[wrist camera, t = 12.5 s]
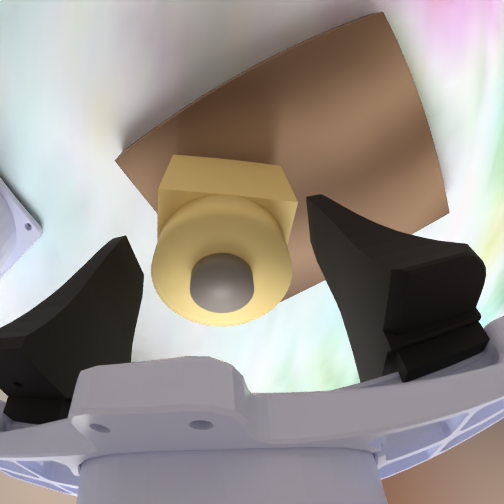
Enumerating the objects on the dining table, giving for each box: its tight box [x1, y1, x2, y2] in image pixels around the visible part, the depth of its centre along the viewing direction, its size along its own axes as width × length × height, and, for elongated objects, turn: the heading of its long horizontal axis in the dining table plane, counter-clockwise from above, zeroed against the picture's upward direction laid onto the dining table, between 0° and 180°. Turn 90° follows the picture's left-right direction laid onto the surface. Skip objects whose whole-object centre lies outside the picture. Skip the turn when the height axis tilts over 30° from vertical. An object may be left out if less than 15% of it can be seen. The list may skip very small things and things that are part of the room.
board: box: [115, 12, 449, 302], centre depth 16 cm, size 12×14×1 cm
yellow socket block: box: [151, 155, 298, 326], centre depth 12 cm, size 5×5×6 cm
